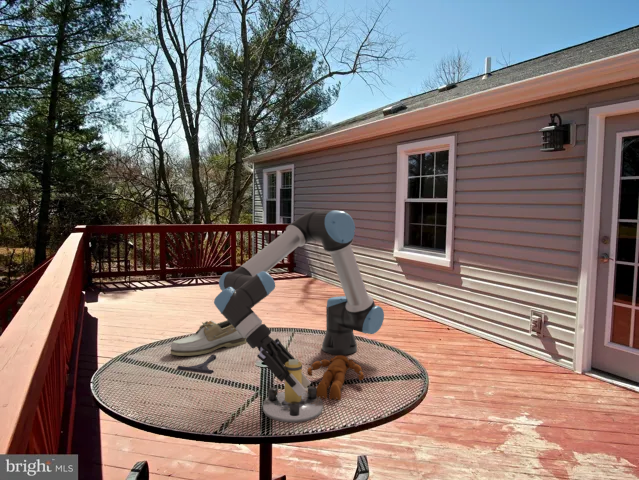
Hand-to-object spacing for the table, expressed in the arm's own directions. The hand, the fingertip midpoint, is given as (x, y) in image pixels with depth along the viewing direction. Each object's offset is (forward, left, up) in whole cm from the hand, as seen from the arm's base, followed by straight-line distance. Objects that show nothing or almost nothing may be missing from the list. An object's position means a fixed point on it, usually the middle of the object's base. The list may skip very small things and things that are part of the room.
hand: (305, 389), depth 128 cm
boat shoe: (+36, -62, -7) cm, 72 cm away
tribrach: (+3, -1, -6) cm, 7 cm away
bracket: (+35, -41, -7) cm, 55 cm away
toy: (-13, -21, -7) cm, 25 cm away
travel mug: (+3, -1, -3) cm, 5 cm away
